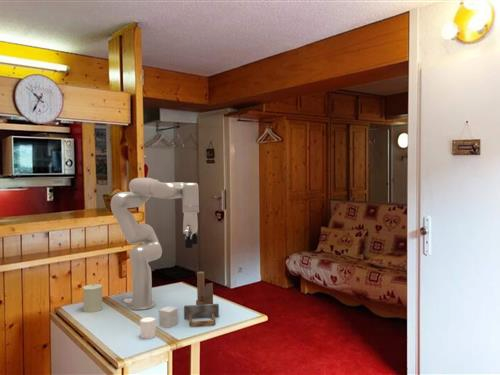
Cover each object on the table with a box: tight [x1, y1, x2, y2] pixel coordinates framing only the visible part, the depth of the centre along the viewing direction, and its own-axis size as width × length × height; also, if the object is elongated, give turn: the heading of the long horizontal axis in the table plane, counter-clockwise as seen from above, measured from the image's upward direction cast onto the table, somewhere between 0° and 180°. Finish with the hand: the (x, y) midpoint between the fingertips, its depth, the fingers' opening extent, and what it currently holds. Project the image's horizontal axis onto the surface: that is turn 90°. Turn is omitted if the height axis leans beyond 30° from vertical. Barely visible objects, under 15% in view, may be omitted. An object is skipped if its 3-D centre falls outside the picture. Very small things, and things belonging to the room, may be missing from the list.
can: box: [82, 283, 104, 313], centre depth 207 cm, size 9×9×12 cm
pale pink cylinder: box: [139, 316, 157, 340], centre depth 174 cm, size 7×7×7 cm
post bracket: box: [183, 303, 220, 328], centre depth 189 cm, size 16×12×6 cm
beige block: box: [158, 305, 179, 329], centre depth 186 cm, size 6×6×7 cm
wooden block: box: [195, 271, 214, 305], centre depth 206 cm, size 4×11×18 cm, turn 38°
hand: (191, 245), depth 194 cm, fingers open, 9 cm apart
